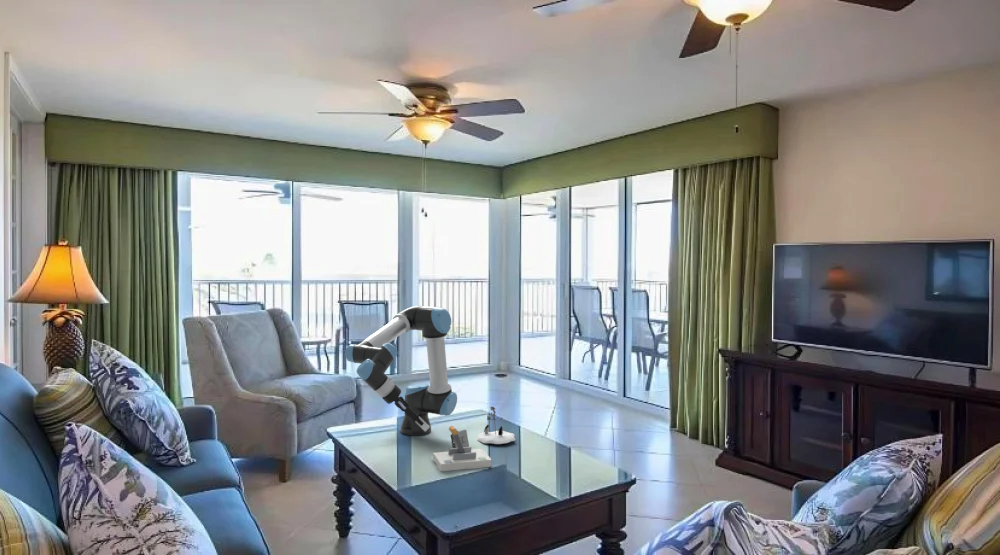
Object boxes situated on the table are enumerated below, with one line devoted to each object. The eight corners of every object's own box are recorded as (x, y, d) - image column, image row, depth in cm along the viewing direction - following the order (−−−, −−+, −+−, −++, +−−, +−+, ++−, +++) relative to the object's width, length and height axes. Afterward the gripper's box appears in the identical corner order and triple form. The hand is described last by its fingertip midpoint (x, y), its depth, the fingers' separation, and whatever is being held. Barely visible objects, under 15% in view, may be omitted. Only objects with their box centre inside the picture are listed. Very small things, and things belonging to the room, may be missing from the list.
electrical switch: (457, 452, 263) (456, 433, 263) (449, 450, 265) (449, 432, 266) (469, 447, 269) (468, 429, 269) (462, 446, 272) (461, 428, 272)
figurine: (524, 441, 279) (522, 406, 279) (492, 447, 268) (491, 412, 269) (500, 433, 295) (499, 401, 296) (469, 439, 285) (468, 406, 285)
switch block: (432, 459, 252) (433, 447, 251) (481, 455, 259) (481, 443, 259) (440, 471, 239) (441, 458, 238) (491, 466, 246) (491, 454, 246)
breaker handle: (458, 453, 251) (448, 427, 249) (463, 451, 252) (453, 424, 250) (462, 458, 246) (451, 431, 244) (467, 455, 247) (456, 428, 244)
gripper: (397, 387, 231) (437, 426, 237) (392, 380, 243) (430, 417, 250) (383, 401, 230) (424, 440, 236) (379, 393, 242) (417, 430, 248)
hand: (427, 428), depth 243 cm, fingers closed
